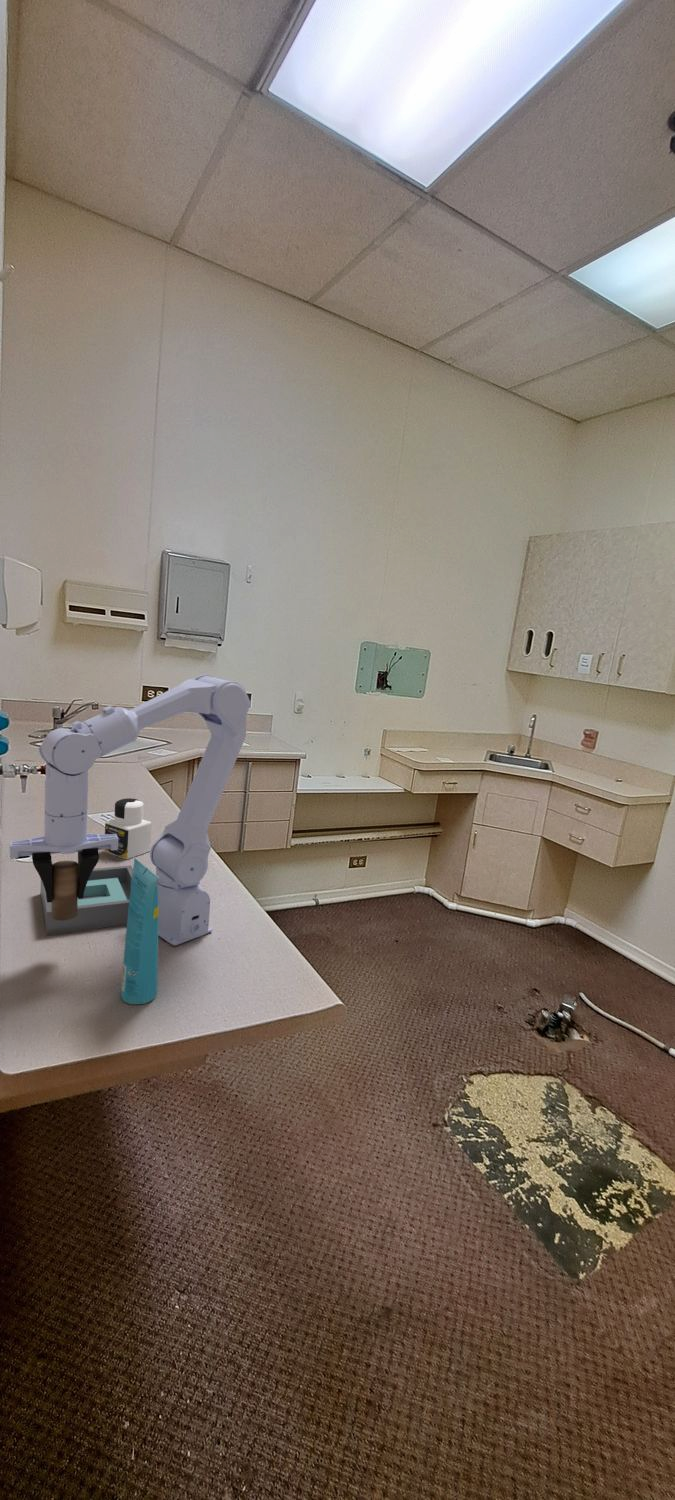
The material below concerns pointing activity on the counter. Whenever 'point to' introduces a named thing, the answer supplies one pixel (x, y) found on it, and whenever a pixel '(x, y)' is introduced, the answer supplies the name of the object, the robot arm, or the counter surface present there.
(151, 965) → the tube
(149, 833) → the medicine bottle
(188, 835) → the robot arm
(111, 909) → the tray
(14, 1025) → the counter surface
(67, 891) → the peg
